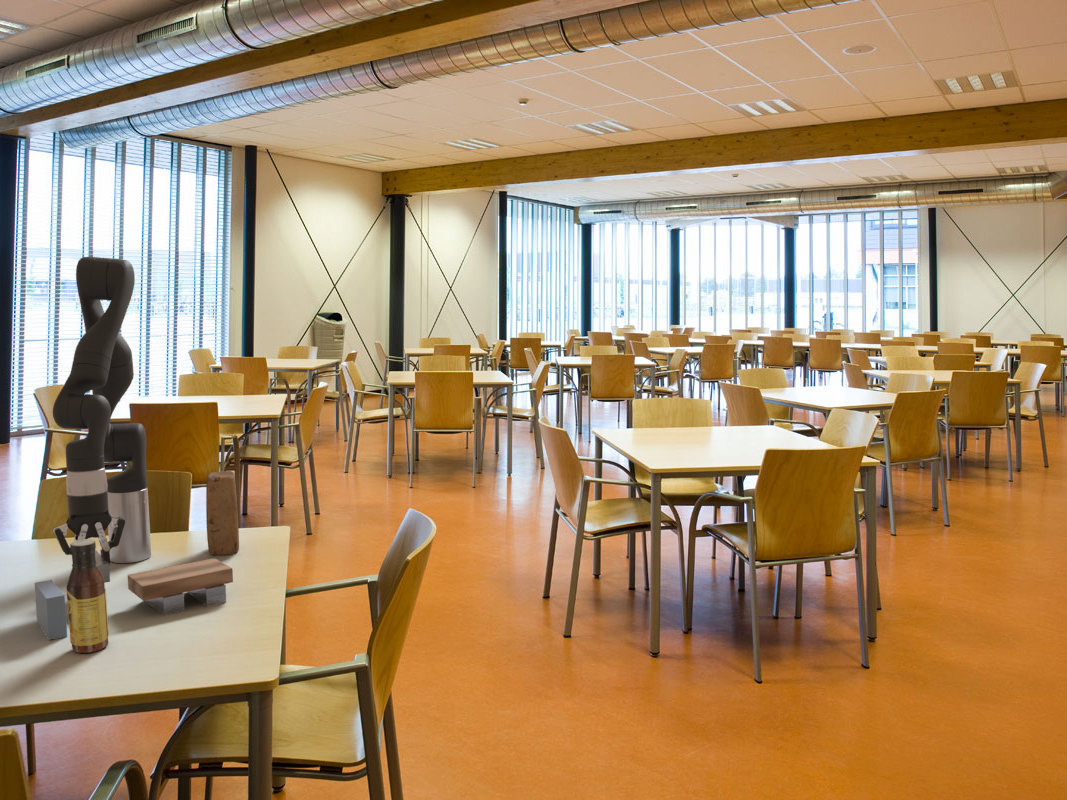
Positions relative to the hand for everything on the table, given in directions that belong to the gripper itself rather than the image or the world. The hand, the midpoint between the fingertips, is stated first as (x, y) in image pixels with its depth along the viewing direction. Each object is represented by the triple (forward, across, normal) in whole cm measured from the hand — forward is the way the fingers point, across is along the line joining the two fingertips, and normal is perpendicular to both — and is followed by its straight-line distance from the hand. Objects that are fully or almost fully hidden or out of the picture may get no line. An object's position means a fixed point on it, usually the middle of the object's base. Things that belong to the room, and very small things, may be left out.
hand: (92, 569), depth 185 cm
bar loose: (+1, 0, 0) cm, 1 cm away
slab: (+3, -14, +14) cm, 20 cm away
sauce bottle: (+6, +7, +29) cm, 30 cm away
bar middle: (+7, -10, +14) cm, 18 cm away
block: (+7, -34, -20) cm, 40 cm away
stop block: (+6, +10, +14) cm, 18 cm away
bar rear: (+7, -19, +13) cm, 24 cm away
